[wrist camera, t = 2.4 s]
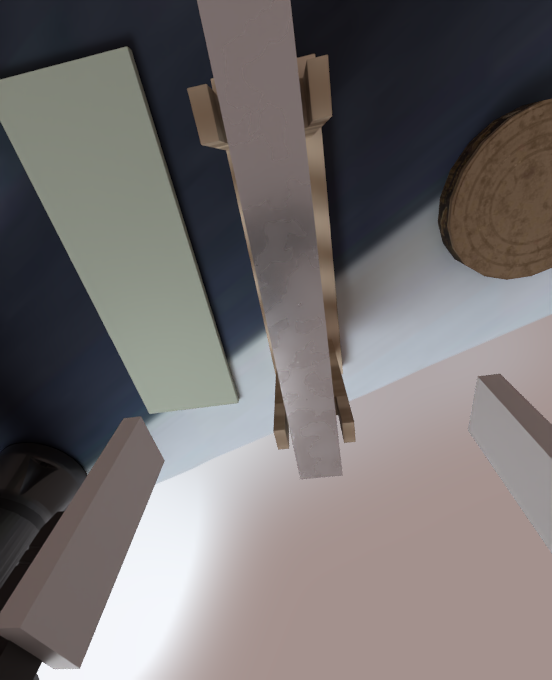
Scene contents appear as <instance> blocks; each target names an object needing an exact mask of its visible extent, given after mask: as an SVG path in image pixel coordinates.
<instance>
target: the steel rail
mask: <svg viewBox="0 0 552 680" xmlns="http://www.w3.org/2000/svg"><path fill="white" fill-rule="evenodd" d="M197 3H198V7H199V12H200V17H201V21H202V26H203V30H204V35H205V40H206V44H207V49H208V54H209V58H210V63H211V67H212V72H213V77H214V81H215V86H216V91H217V95H218V100H219V104H220V109H221V114H222V118H223V123H224V128H225V132H226V137H227V142H228V146H229V151H230V155H231V160H232V165H233V169H234V174H235V179H236V183H237V188H238V192H239V197H240V202H241V206H242V211H243V216H244V220H245V225H246V229H247V234H248V239H249V243H250V248H251V253H252V257H253V262H254V267H255V271H256V276H257V280H258V285H259V290H260V294H261V299H262V304H263V308H264V313H265V317H266V322H267V327H268V331H269V336H270V341H271V345H272V350H273V354H274V359H275V364H276V368H277V373H278V378H279V382H280V387H281V392H282V396H283V401H284V405H285V410H286V415H287V419H288V424H289V428H290V433H291V437H292V442H293V447H294V451H295V456H296V461H297V466H298V470H299V475H300V479H307V478H318V477H330V476H341V475H342V466H341V457H340V448H339V439H338V431H337V421H336V412H335V403H334V393H333V384H332V375H331V366H330V357H329V348H328V339H327V330H326V321H325V311H324V302H323V293H322V284H321V275H320V266H319V257H318V248H317V239H316V229H315V220H314V211H313V202H312V193H311V184H310V175H309V166H308V157H307V147H306V138H305V129H304V120H303V111H302V102H301V93H300V84H299V75H298V65H297V56H296V47H295V38H294V29H293V20H292V11H291V2H290V0H197Z"/></svg>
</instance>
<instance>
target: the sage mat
mask: <svg viewBox="0 0 552 680" xmlns="http://www.w3.org/2000/svg"><path fill="white" fill-rule="evenodd" d="M0 121H1V123H2V125H3V127H4V129H5V131H6V133H7V135H8V137H9V139H10V141H11V143H12V145H13V147H14V149H15V151H16V153H17V155H18V157H19V159H20V161H21V163H22V165H23V167H24V169H25V170H26V172H27V174H28V176H29V178H30V180H31V182H32V184H33V186H34V188H35V190H36V192H37V194H38V196H39V198H40V200H41V202H42V204H43V206H44V208H45V210H46V212H47V214H48V216H49V218H50V220H51V221H52V223H53V225H54V227H55V229H56V231H57V233H58V235H59V237H60V239H61V241H62V243H63V245H64V247H65V249H66V251H67V253H68V255H69V257H70V259H71V261H72V263H73V265H74V267H75V269H76V271H77V272H78V274H79V276H80V278H81V280H82V282H83V284H84V286H85V288H86V290H87V292H88V294H89V296H90V298H91V300H92V302H93V304H94V306H95V308H96V310H97V312H98V314H99V316H100V318H101V320H102V322H103V323H104V325H105V327H106V329H107V331H108V333H109V335H110V337H111V339H112V341H113V343H114V345H115V347H116V349H117V351H118V353H119V355H120V357H121V359H122V361H123V363H124V365H125V367H126V369H127V371H128V372H129V374H130V376H131V378H132V380H133V382H134V384H135V386H136V388H137V390H138V392H139V394H140V396H141V398H142V400H143V402H144V404H145V406H146V408H147V410H148V412H149V414H153V413H161V412H169V411H177V410H186V409H194V408H202V407H210V406H219V405H227V404H235V403H238V402H239V398H238V395H237V391H236V388H235V385H234V382H233V378H232V375H231V372H230V369H229V365H228V362H227V359H226V356H225V352H224V349H223V346H222V343H221V340H220V336H219V333H218V330H217V327H216V323H215V320H214V317H213V314H212V310H211V307H210V304H209V301H208V297H207V294H206V291H205V288H204V284H203V281H202V278H201V275H200V271H199V268H198V265H197V262H196V258H195V255H194V252H193V249H192V245H191V242H190V239H189V236H188V232H187V229H186V226H185V223H184V219H183V216H182V213H181V210H180V206H179V203H178V200H177V197H176V194H175V190H174V187H173V184H172V181H171V177H170V174H169V171H168V168H167V164H166V161H165V158H164V155H163V151H162V148H161V145H160V142H159V138H158V135H157V132H156V129H155V125H154V122H153V119H152V116H151V112H150V109H149V106H148V103H147V99H146V96H145V93H144V90H143V86H142V83H141V80H140V77H139V73H138V70H137V67H136V64H135V60H134V57H133V54H132V51H131V49H130V48H129V47H123V48H119V49H115V50H111V51H107V52H104V53H100V54H96V55H92V56H88V57H85V58H81V59H77V60H73V61H69V62H66V63H62V64H58V65H54V66H50V67H47V68H43V69H39V70H35V71H31V72H28V73H24V74H20V75H16V76H12V77H9V78H5V79H1V80H0Z"/></svg>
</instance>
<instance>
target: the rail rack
mask: <svg viewBox="0 0 552 680" xmlns="http://www.w3.org/2000/svg"><path fill="white" fill-rule="evenodd" d="M297 65H298V75H299V84H300V93H301V102H302V111H303V120H304V129H305V138H306V147H307V157H308V166H309V175H310V184H311V193H312V202H313V211H314V220H315V229H316V239H317V248H318V257H319V266H320V275H321V284H322V293H323V302H324V311H325V321H326V330H327V339H328V348H329V357H330V366H331V375H332V384H333V393H334V403H335V412H336V415H338V416H339V420H340V425H341V430H342V435H343V439H344V443H347V442H355V428H354V420H353V416H352V412H351V409H350V405H349V401H348V397H347V394H346V390H345V386H344V382H343V379H342V375H341V374H343V370H342V358H341V347H340V335H339V324H338V312H337V301H336V289H335V278H334V266H333V255H332V243H331V232H330V220H329V209H328V198H327V186H326V175H325V163H324V152H323V140H322V129H321V127H322V126H323V125H324V124H325V123H326V122H327V121H328V120H329V119H330V118H331V117H332V106H331V92H330V78H329V64H328V55H324V56H320V57H316V58H315V54H311V55H307V56H303V57H299V58H297ZM211 83H212V88H213V90H212V89H211V88H210V87H209V86H208V85H207V84H204V85H200V86H195V87H191V88H187V90H188V94H189V98H190V102H191V106H192V110H193V114H194V118H195V122H196V126H197V130H198V134H199V138H200V142H201V145H205V146H209V147H214V148H218V149H222V150H226V152H227V156H228V161H229V165H230V170H231V174H232V179H233V183H234V188H235V192H236V197H237V201H238V206H239V211H240V215H241V220H242V224H243V229H244V233H245V238H246V242H247V247H248V251H249V256H250V260H251V265H252V270H253V274H254V279H255V283H256V288H257V292H258V297H259V301H260V306H261V310H262V315H263V319H264V324H265V329H266V333H267V338H268V342H269V347H270V351H271V356H272V360H273V365H274V369H275V374H276V386H275V410H274V435H275V438H276V442H277V446H278V449H289V424H288V419H287V415H286V410H285V405H284V401H283V396H282V392H281V387H280V382H279V378H278V373H277V368H276V364H275V359H274V354H273V350H272V345H271V341H270V336H269V331H268V327H267V322H266V317H265V313H264V308H263V304H262V299H261V294H260V290H259V285H258V280H257V276H256V271H255V267H254V262H253V257H252V253H251V248H250V243H249V239H248V234H247V229H246V225H245V220H244V216H243V211H242V206H241V202H240V197H239V192H238V188H237V183H236V179H235V174H234V169H233V165H232V160H231V155H230V151H229V146H228V142H227V137H226V132H225V128H224V123H223V118H222V114H221V109H220V104H219V100H218V95H217V91H216V86H215V81H214V78H212V79H211Z"/></svg>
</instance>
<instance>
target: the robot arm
mask: <svg viewBox="0 0 552 680" xmlns="http://www.w3.org/2000/svg"><path fill="white" fill-rule="evenodd" d="M468 431H469V433H470V434H471V436H472V437H473V439H474V440H475V441H476V443H477V444H478V446H479V447H480V449H481V450H482V452H483V453H484V455H485V456H486V458H487V459H488V461H489V462H490V463H491V465H492V466H493V468H494V469H495V471H496V472H497V474H498V475H499V477H500V478H501V480H502V481H503V483H504V484H505V486H506V487H507V489H508V490H509V491H510V493H511V494H512V496H513V497H514V499H515V500H516V502H517V503H518V505H519V506H520V508H521V509H522V510H523V512H524V513H525V515H526V516H527V518H528V519H529V521H530V522H531V524H532V525H533V527H534V528H535V530H536V531H537V532H538V534H539V536H540V537H541V538H542V540H543V541H544V543H545V544H546V546H547V547H548V549H549V550H550V552H551V553H552V424H550V423H549V421H548V420H546V419H545V418H544V417H543V416H542V415H541V414H540V413H539V412H538V411H537V410H536V409H535V408H534V407H533V406H532V405H531V404H530V403H529V402H528V401H527V400H526V399H525V398H524V397H523V396H522V395H521V394H520V393H519V392H518V391H517V390H516V389H515V388H514V387H513V386H512V385H511V384H510V383H509V382H508V381H507V380H506V379H505V378H504V377H503V376H502V375H501V374H494V375H486V376H478V378H477V383H476V389H475V394H474V400H473V405H472V411H471V416H470V422H469V427H468ZM163 463H164V459H163V457H162V455H161V453H160V451H159V449H158V448H157V446H156V444H155V442H154V440H153V438H152V436H151V435H150V433H149V431H148V429H147V427H146V425H145V423H144V421H143V420H142V418H141V417H132V418H124V419H123V420H122V422H121V423H120V425H119V427H118V428H117V430H116V431H115V433H114V434H113V436H112V438H111V439H110V441H109V442H108V444H107V445H106V447H105V449H104V450H103V452H102V453H101V455H100V456H99V458H98V460H97V461H96V463H95V464H94V466H93V467H92V469H91V471H90V472H89V474H88V475H87V476H86V474H85V472H84V470H83V468H82V467H81V466H80V465H79V464H78V463H77V462H76V461H75V460H74V459H72V458H71V457H70V456H68V455H67V454H65V453H63V452H61V451H59V450H57V449H54V448H52V447H48V446H45V445H41V444H35V443H18V444H13V445H11V446H8V447H7V448H5V449H4V450H3V451H2V452H1V453H0V680H39V678H38V675H37V674H36V673H37V671H38V669H39V667H40V665H41V663H42V662H44V663H45V664H47V665H49V666H50V667H52V668H53V669H79V668H80V667H81V664H82V662H83V659H84V657H85V654H86V652H87V649H88V647H89V644H90V642H91V640H92V637H93V635H94V632H95V630H96V627H97V625H98V622H99V620H100V617H101V615H102V613H103V610H104V608H105V605H106V603H107V600H108V598H109V596H110V593H111V590H112V588H113V586H114V583H115V581H116V578H117V576H118V573H119V571H120V569H121V565H122V564H123V561H124V559H125V556H126V554H127V551H128V549H129V546H130V544H131V542H132V539H133V537H134V534H135V532H136V529H137V527H138V525H139V522H140V520H141V517H142V515H143V512H144V510H145V507H146V505H147V502H148V500H149V498H150V495H151V493H152V490H153V488H154V485H155V483H156V481H157V478H158V476H159V473H160V471H161V468H162V466H163Z"/></svg>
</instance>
